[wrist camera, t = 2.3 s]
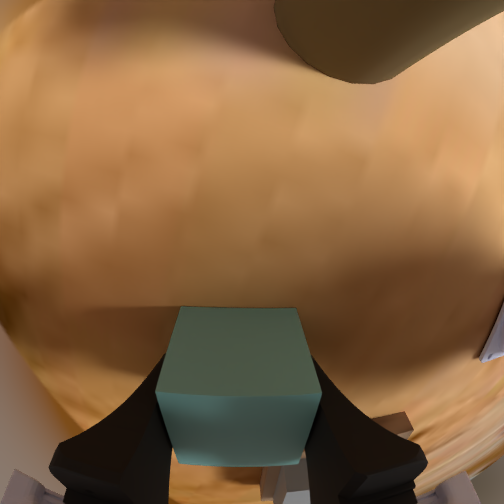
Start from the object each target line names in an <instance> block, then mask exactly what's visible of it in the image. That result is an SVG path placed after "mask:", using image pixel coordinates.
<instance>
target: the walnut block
mask: <svg viewBox="0 0 504 504" xmlns="http://www.w3.org/2000/svg"><path fill="white" fill-rule="evenodd" d="M372 420H373V421H375V422H376V423H378V424H379V425H381V426H382V427H384V428H385V429H387V430H389V431H391V432H392V433H394V434H396V435H398V436H400V437H402V438H404V439H408V437H409V436H410V435H411V433H412V432H413V430H414V429H413V427H412V425H411V423H410V421H409V419H408V417H407V415H406V413H405V411H404V412H400V413H396V414H392V415H387V416H383V417H378V418H373V419H372ZM302 458H306V454H305V449H304V450H303V453H302V455H301V458H300V459H302ZM280 469H281V466H263V469H262V475H261V481H260V493H261V501H272V500H273V496H274V492H275V489H276V485H277V481H278V477H279V473H280Z"/></svg>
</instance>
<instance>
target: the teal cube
mask: <svg viewBox="0 0 504 504" xmlns="http://www.w3.org/2000/svg"><path fill="white" fill-rule="evenodd" d="M155 393H156V396H157V400H158V403H159V406H160V410H161V413H162V416H163V419H164V423H165V426H166V429H167V432H168V435H169V438H170V440H171V443H172V446H173V449H174V452H175V454H176V457H177V460H178V462H179V463H180V464H190V465H203V466H224V467H260V466H281V465H294V464H299V461H300V458H301V455H302V453H303V450H304V447H305V444H306V442H307V439H308V436H309V433H310V430H311V427H312V424H313V421H314V418H315V415H316V411H317V408H318V405H319V402H320V398H321V395H322V391H321V387H320V384H319V381H318V377H317V374H316V371H315V367H314V364H313V361H312V358H311V354H310V351H309V348H308V345H307V341H306V338H305V335H304V332H303V328H302V325H301V322H300V319H299V316H298V313H297V309H296V308H217V307H186V306H181V308H180V311H179V314H178V317H177V320H176V323H175V326H174V330H173V333H172V336H171V339H170V342H169V346H168V349H167V352H166V356H165V359H164V362H163V366H162V369H161V373H160V376H159V380H158V383H157V387H156V390H155Z"/></svg>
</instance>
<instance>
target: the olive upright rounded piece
mask: <svg viewBox="0 0 504 504" xmlns="http://www.w3.org/2000/svg"><path fill="white" fill-rule="evenodd" d="M274 11H275V16H276V21H277V26H278V28H279V30H280V32H281V33H282V35H283V37H284V38H285V40H286V42H287V43H288V45H289V46H290V47H291V48H292V49H293V50H294V51H295V52H296V53H297V54H298V55H299V56H300V57H301V58H302V59H303V60H304V61H305V62H306V63H307V64H309V65H311V66H313V67H314V68H316V69H318V70H319V71H321V72H323V73H324V74H326V75H328V76H330V77H333V78H337V79H340V80H343V81H346V82H349V83H358V84H376V83H379V82H382V81H386V80H389V79H392V78H393V77H395V76H396V75H398V74H399V73H401V72H402V71H404V70H405V69H407V68H408V67H410V66H411V65H413V64H415V63H416V62H418V61H419V60H421V59H422V58H424V57H425V56H427V55H429V54H430V53H432V52H433V51H435V50H437V49H438V48H440V47H441V46H443V45H445V44H446V43H448V42H450V41H451V40H453V39H455V38H456V37H458V36H460V35H461V34H463V33H465V32H466V31H468V30H470V29H472V28H473V27H475V26H477V25H479V24H480V23H482V22H484V21H486V20H488V19H489V18H491V17H493V16H495V15H497V14H499V13H501V12H503V11H504V0H275V5H274Z"/></svg>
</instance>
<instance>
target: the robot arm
mask: <svg viewBox="0 0 504 504" xmlns="http://www.w3.org/2000/svg"><path fill="white" fill-rule="evenodd" d="M503 355H504V303H503V306H502V308H501V311H500V313H499V316H498V318H497V320H496V323H495V325H494V327H493V330H492V332H491V334H490V336H489V338H488V340H487V343H486V345H485V347H484V349H483V351H482V353H481V355H480V357H479V360H480V361H481V362H482V363H484V362H487V361H490V360H492V359H495V358H498V357H501V356H503ZM165 356H166V353H165V354H164V355H163V357H162V358H161V359H160V361H159V362H158V364H157V365H156V366H155V368H154V369H153V370H152V371H151V373H150V374H149V375H148V376H147V378H146V379H145V380H144V381H143V382H142V384H141V385H140V386H139V387H138V388H137V389H136V390H135V391H134V392H133V394H132V395H131V396H130V397H129V398H128V399H127V400H126V401H125V402H124V403H123V404H121V405H120V406H119V407H118V408H117V409H116V410H115V411H113V412H112V413H111V414H110V415H108V416H107V417H106V418H104V419H103V420H102V421H100V422H99V423H97V424H96V425H94V426H92V427H91V428H89V429H87V430H86V431H84V432H82V433H81V434H79V435H77V436H75V437H72V438H70V439H68V440H66V441H64V442H61V443H59V445H58V447H57V449H56V450H55V453H54V455H53V458H52V460H51V463H50V465H49V470H50V472H51V473H52V474H53V476H54V477H55V478H57V479H58V480H59V481H60V482H61V483H62V484H63V485H64V486H65V487H66V488H67V489H66V492H65V495H64V496H62V495H60V494H58V493H55V492H53V491H51V490H49V489H46V488H45V487H44V486H43V485H42V484H41V483H40V482H38V481H37V480H35V479H34V478H32V477H30V476H28V475H26V474H24V473H22V472H20V471H18V470H16V469H14V471H13V474H12V476H11V478H10V481H9V483H8V486H7V488H6V491H5V493H4V496H3V498H2V501H1V504H168V498H169V478H170V465H171V455H172V448H173V446H172V443H171V440H170V438H169V435H168V432H167V429H166V426H165V423H164V419H163V416H162V413H161V410H160V406H159V403H158V400H157V396H156V393H155V390H156V387H157V383H158V380H159V376H160V373H161V369H162V366H163V362H164V359H165ZM311 358H312V361H313V364H314V367H315V371H316V374H317V377H318V381H319V384H320V387H321V391H322V395H321V398H320V402H319V405H318V408H317V411H316V415H315V418H314V421H313V424H312V427H311V430H310V433H309V436H308V439H307V442H306V444H305V447H304V449H305V454H306V462H307V470H308V480H309V491H310V504H481V503H480V501H479V498H478V496H477V494H476V492H475V490H474V487H473V485H472V483H471V481H470V479H469V477H468V475H467V473H466V471H463V472H461V473H459V474H457V475H455V476H453V477H451V478H449V479H447V480H445V481H443V482H442V483H440V484H439V485H438V486H437V487H436V488H435V489H434V490H431V491H429V492H427V493H424V494H422V495H419V496H417V497H416V496H415V493H414V491H413V489H414V488H415V486H416V485H415V483H414V479H415V478H416V477H417V476H419V475H420V474H421V473H422V472H423V470H424V469H425V468H426V466H427V464H428V461H427V459H426V457H425V454H424V452H423V450H422V449H421V447H420V445H418V444H416V443H414V442H411V441H409V440H407V439H404V438H402V437H400V436H398V435H396V434H394V433H392V432H391V431H389V430H387V429H385V428H384V427H382V426H381V425H379V424H378V423H376V422H375V421H373V420H372V419H370V418H369V417H368V416H366V415H365V414H364V413H363V412H361V411H360V410H359V409H358V408H357V407H356V406H354V405H353V404H352V403H351V402H350V401H349V400H348V399H347V398H346V397H345V396H344V395H343V394H342V393H341V392H340V390H339V389H338V388H337V387H336V386H335V385H334V384H333V382H332V381H331V380H330V379H329V378H328V376H327V375H326V374H325V373H324V371H323V370H322V369H321V367H320V366H319V365H318V363H317V362H316V361H315V359H314V358H313V356H312V355H311Z"/></svg>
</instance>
